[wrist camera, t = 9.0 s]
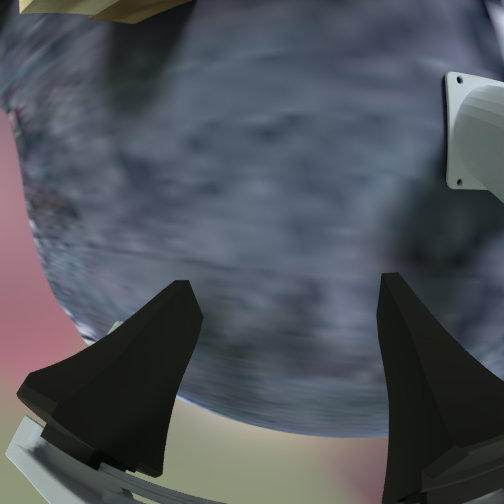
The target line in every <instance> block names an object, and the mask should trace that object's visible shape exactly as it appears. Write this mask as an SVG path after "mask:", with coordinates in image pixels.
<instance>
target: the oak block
mask: <svg viewBox="0 0 504 504" xmlns="http://www.w3.org/2000/svg"><path fill="white" fill-rule="evenodd" d="M117 1H119V0H20V14H22V13H73V14H87V15H96V14H98V13H99V12H101V11H102V10H104V9H106V8H107V7H109V6H111V5H112V4H114V3H116V2H117Z"/></svg>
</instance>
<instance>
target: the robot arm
mask: <svg viewBox="0 0 504 504" xmlns="http://www.w3.org/2000/svg"><path fill="white" fill-rule="evenodd" d="M457 77H459V78H460V80H461V81H460V83H458V82H457ZM445 85H446V98H447V118H448V156H447V176H446V183H447V185H448V186H449V187H450V188H451V189H475V190H489V191H490V192H492V193H493V194H494V195H495V196H496V197H497V198H498V199H499V200H501V201H502V202H503V203H504V82H500V81H496V80H492V79H488V78H483V77H478V76H474V75H468V74H463V73H457V72H447V73H446V74H445ZM458 179H461V181H460V183H459V184H457V181H458ZM376 316H377V327H378V338H379V344H380V349H381V355H382V360H383V366H384V371H385V377H386V383H387V390H388V399H389V444H388V458H387V469H386V477H385V484H384V491H383V497H382V504H504V381H503V380H501V379H500V378H498V377H497V376H496V375H494V374H493V373H492V372H490V371H489V370H488V369H487V368H485V367H484V366H483V365H482V364H481V363H480V362H478V361H477V360H476V359H475V358H474V357H473V356H471V355H470V354H469V353H468V352H467V351H466V350H465V349H464V348H463V347H462V346H461V345H460V344H459V343H458V342H457V341H456V340H455V339H454V338H453V337H452V336H451V335H450V334H449V333H448V332H447V331H446V330H445V329H444V328H443V327H442V325H441V324H440V323H439V322H438V321H437V320H436V319H435V317H434V316H433V315H432V314H431V313H430V311H429V310H428V309H427V308H426V307H425V305H424V304H423V303H422V302H421V301H420V299H419V298H418V297H417V296H416V294H415V293H414V292H413V291H412V289H411V288H410V287H409V285H408V284H407V283H406V282H405V280H404V279H403V278H402V277H401V275H400V274H399V273H398V272H397V273H382V275H381V284H380V292H379V300H378V307H377V314H376ZM202 321H203V315H202V313H201V310H200V308H199V305H198V303H197V300H196V298H195V295H194V293H193V290H192V288H191V285H190V282H189V280H175V281H174V282H172V283H171V284H170V285H168V286H167V287H166V288H165V289H163V290H162V291H161V292H160V293H159V294H157V295H156V296H155V297H154V298H153V299H152V300H150V301H149V302H148V303H147V304H146V305H145V306H143V307H142V308H141V309H140V310H139V311H137V312H136V313H135V314H134V315H133V316H131V317H130V318H129V319H128V320H126V321H125V322H124V323H122V324H121V325H120V326H119V327H117V328H116V329H115V330H113V331H112V332H111V333H109V334H108V335H106V336H105V337H103V338H102V339H100V340H99V341H97V342H96V343H94V344H93V345H91V346H89V347H87V348H86V349H84V350H82V351H80V352H79V353H77V354H75V355H73V356H71V357H69V358H67V359H65V360H63V361H61V362H58V363H56V364H54V365H51V366H48V367H46V368H43V369H40V370H37V371H35V372H31V373H30V374H29V375H28V376H27V377H26V379H25V381H24V382H23V384H22V385H21V387H20V388H19V390H18V392H17V397H18V398H19V399H20V400H21V401H22V402H23V403H24V404H25V405H26V406H27V407H28V408H29V409H30V410H32V411H33V412H34V413H35V414H36V415H38V416H39V417H40V418H41V419H42V420H43V421H45V422H46V423H47V424H46V426H45V428H44V427H43V426H42V425H40V424H39V423H37V422H36V421H34V420H33V419H32V418H30V417H29V416H28V415H25V417H24V419H23V420H22V422H21V424H20V426H19V428H18V430H17V431H16V433H15V435H14V437H13V439H12V441H11V443H10V445H9V447H8V449H7V451H6V456H7V457H8V458H9V459H10V460H11V461H12V462H13V463H14V464H15V465H16V467H18V469H19V470H20V471H21V472H22V473H23V474H24V475H25V476H26V477H27V478H28V480H29V481H30V482H31V483H32V485H33V486H34V487H35V488H36V489H37V490H38V492H40V494H41V495H42V496H43V497H44V498H45V499H46V500H47V502H48V503H49V504H145V503H143V502H140V501H138V500H135V499H134V498H133V495H132V493H131V492H133V493H135V494H137V495H140V496H142V497H145V498H147V499H150V500H153V501H156V502H158V503H161V504H226V503H220V502H216V501H212V500H207V499H203V498H199V497H195V496H191V495H188V494H184V493H181V492H177V491H174V490H171V489H168V488H165V487H161V486H158V485H156V484H153V483H150V482H147V481H145V480H142V479H140V478H137V477H135V476H132V475H130V474H127V473H125V471H126V470H128V471H131V472H133V473H135V472H136V471H138V472H140V473H143V474H146V475H148V476H151V477H154V478H156V477H159V476H161V475H162V474H163V462H164V451H165V445H166V439H167V433H168V428H169V423H170V418H171V414H172V409H173V406H174V402H175V398H176V394H177V391H178V388H179V385H180V383H181V380H182V378H183V375H184V373H185V370H186V368H187V365H188V363H189V360H190V358H191V356H192V353H193V351H194V348H195V346H196V343H197V340H198V337H199V333H200V330H201V325H202Z"/></svg>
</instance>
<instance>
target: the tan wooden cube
mask: <svg viewBox="0 0 504 504" xmlns="http://www.w3.org/2000/svg"><path fill="white" fill-rule="evenodd" d="M190 1H193V0H119V1H117V2H116V3H114V4H112V5H111V6H109V7H107V8H106V9H104V10H102V11H101V12H99V13H98V14H96V15H88V19H95V20H105V21H114V22H122V23H129V24H136V23H138V22H140V21H142V20H144V19H146V18H149V17H151V16H153V15H156V14H158V13H160V12H163V11H165V10H168V9H170V8H173V7H176V6H178V5H181V4H184V3H187V2H190Z"/></svg>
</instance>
